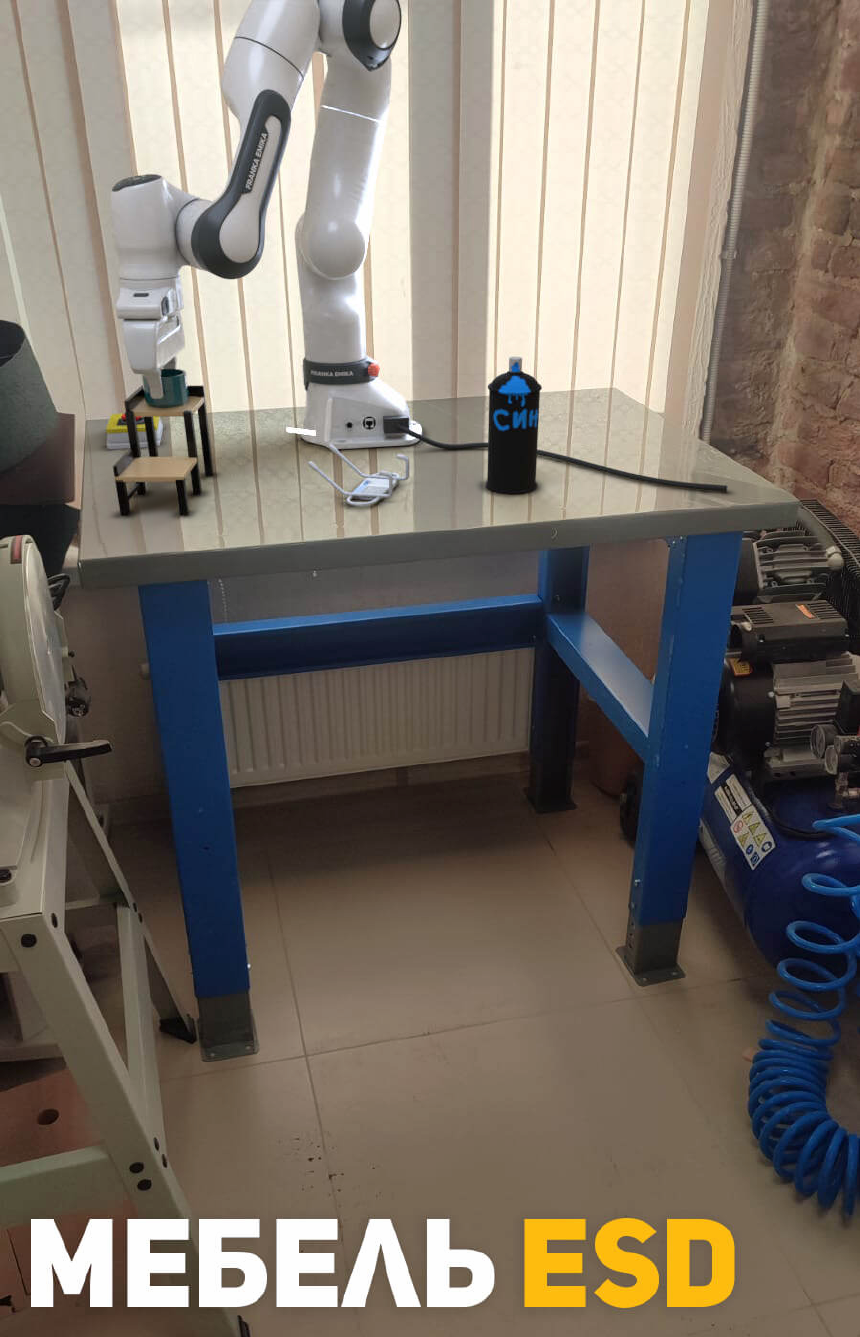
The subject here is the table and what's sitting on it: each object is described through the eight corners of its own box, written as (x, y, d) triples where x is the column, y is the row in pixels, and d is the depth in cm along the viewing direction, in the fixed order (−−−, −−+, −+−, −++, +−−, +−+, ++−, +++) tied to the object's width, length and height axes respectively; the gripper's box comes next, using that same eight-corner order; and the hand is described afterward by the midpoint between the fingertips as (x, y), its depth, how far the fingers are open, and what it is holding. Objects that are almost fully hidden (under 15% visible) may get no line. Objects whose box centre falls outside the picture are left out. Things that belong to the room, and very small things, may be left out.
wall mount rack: (386, 511, 150) (385, 473, 147) (302, 503, 153) (299, 466, 150) (415, 479, 163) (415, 444, 160) (337, 473, 166) (335, 438, 164)
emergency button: (102, 425, 177) (110, 404, 190) (106, 449, 179) (113, 427, 192) (156, 422, 179) (160, 402, 192) (159, 446, 181) (163, 425, 194)
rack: (213, 474, 166) (203, 385, 159) (187, 515, 149) (175, 417, 142) (154, 474, 166) (141, 385, 159) (120, 516, 149) (104, 418, 142)
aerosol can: (482, 479, 163) (484, 353, 153) (532, 477, 164) (537, 352, 154) (489, 495, 156) (492, 364, 146) (541, 493, 156) (547, 363, 147)
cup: (193, 398, 159) (189, 368, 156) (184, 408, 153) (180, 378, 151) (151, 398, 159) (147, 368, 156) (141, 408, 153) (136, 378, 151)
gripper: (148, 287, 157) (160, 376, 164) (111, 308, 139) (126, 407, 146) (188, 287, 157) (198, 376, 164) (156, 308, 139) (169, 407, 146)
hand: (164, 391), depth 155 cm, fingers closed on cup, 6 cm apart
